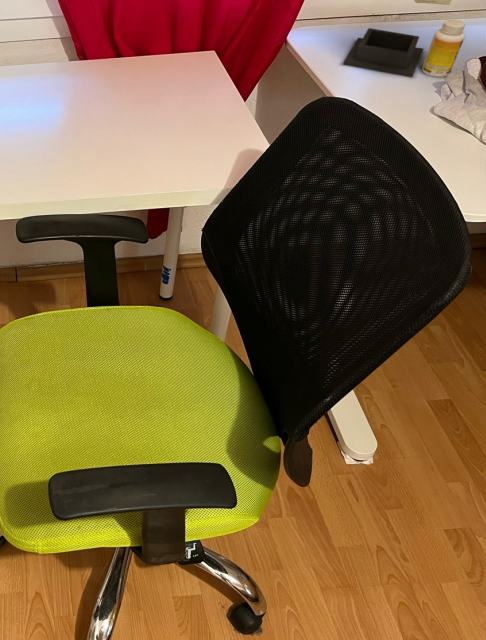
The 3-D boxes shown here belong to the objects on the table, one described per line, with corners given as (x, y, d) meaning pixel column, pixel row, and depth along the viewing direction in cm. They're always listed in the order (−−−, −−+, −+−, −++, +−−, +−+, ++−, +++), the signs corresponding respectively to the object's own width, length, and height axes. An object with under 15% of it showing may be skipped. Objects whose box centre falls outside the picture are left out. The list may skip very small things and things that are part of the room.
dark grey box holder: (422, 53, 152) (429, 34, 149) (411, 78, 144) (418, 59, 141) (356, 41, 157) (362, 23, 154) (342, 65, 149) (348, 47, 146)
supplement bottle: (451, 79, 143) (472, 29, 136) (422, 77, 144) (442, 27, 137) (447, 67, 147) (467, 18, 139) (419, 65, 148) (438, 16, 141)
